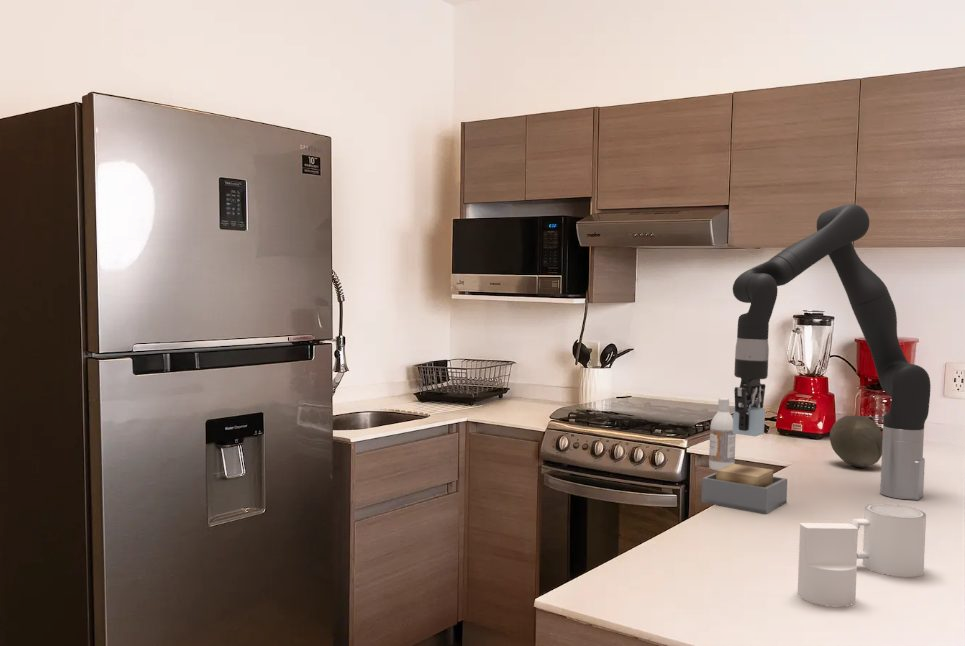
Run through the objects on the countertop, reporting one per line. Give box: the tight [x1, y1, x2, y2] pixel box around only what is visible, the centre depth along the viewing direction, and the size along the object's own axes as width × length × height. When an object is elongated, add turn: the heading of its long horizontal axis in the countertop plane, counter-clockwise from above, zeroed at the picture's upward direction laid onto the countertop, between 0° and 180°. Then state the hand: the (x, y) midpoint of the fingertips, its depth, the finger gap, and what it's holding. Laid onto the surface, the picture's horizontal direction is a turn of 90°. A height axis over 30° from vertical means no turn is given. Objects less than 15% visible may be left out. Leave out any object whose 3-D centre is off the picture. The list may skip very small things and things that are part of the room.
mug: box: [850, 503, 927, 578], centre depth 157 cm, size 14×10×11 cm
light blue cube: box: [732, 407, 766, 437], centre depth 201 cm, size 6×6×6 cm
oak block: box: [715, 463, 774, 488], centre depth 203 cm, size 10×10×7 cm
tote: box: [700, 471, 788, 515], centre depth 203 cm, size 16×14×6 cm
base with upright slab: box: [797, 522, 859, 607], centre depth 141 cm, size 9×9×12 cm
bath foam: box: [708, 397, 737, 471], centre depth 239 cm, size 7×7×20 cm
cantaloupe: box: [829, 415, 883, 469], centre depth 245 cm, size 14×14×15 cm
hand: (748, 428), depth 201 cm, fingers closed on light blue cube, 5 cm apart
